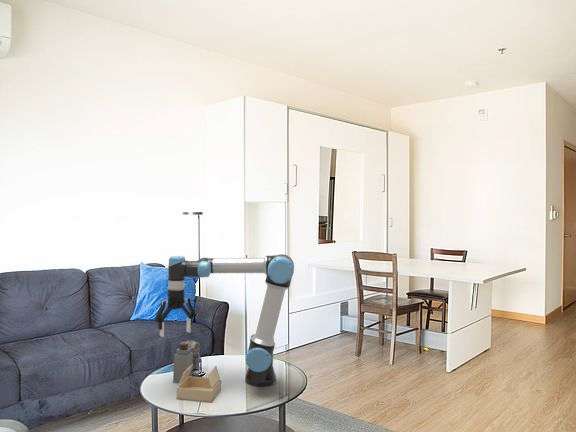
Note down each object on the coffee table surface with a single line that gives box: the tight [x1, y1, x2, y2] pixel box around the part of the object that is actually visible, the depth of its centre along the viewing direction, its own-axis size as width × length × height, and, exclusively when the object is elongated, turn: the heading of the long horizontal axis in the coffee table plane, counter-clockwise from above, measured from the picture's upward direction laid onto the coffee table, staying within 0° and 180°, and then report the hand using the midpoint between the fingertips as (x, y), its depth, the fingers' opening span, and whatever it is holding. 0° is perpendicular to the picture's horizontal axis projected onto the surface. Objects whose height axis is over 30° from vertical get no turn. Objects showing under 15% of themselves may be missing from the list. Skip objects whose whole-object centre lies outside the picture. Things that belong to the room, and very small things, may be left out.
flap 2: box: [207, 365, 221, 388], centre depth 215 cm, size 6×13×1 cm
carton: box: [175, 375, 222, 403], centre depth 216 cm, size 16×15×5 cm
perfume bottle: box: [172, 342, 193, 384], centre depth 231 cm, size 7×7×18 cm
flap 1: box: [178, 364, 193, 386], centre depth 217 cm, size 6×13×1 cm
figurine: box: [178, 339, 201, 371], centre depth 249 cm, size 10×11×15 cm
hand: (175, 334), depth 223 cm, fingers open, 13 cm apart
